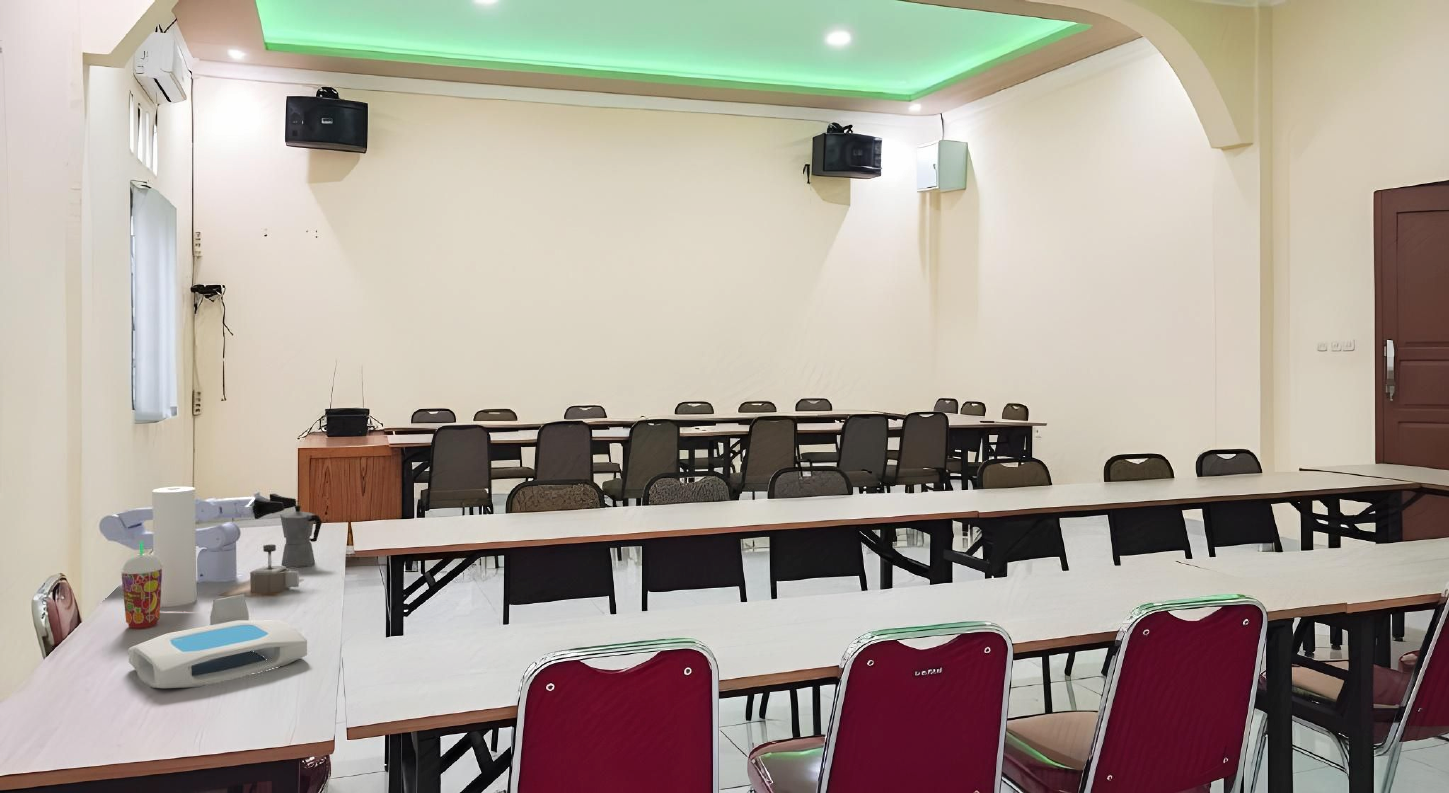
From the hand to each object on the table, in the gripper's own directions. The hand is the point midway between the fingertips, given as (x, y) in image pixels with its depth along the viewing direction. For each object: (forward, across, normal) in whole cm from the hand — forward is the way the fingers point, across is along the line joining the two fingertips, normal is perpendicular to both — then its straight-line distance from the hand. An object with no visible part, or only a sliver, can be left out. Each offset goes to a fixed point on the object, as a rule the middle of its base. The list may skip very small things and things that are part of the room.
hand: (289, 504), depth 268 cm
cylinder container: (-20, -25, +21) cm, 38 cm away
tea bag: (+9, -55, +23) cm, 60 cm away
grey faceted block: (0, -12, +21) cm, 24 cm away
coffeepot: (-7, +20, +21) cm, 30 cm away
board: (-5, -10, +22) cm, 24 cm away
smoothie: (-17, -44, +21) cm, 51 cm away
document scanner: (+15, -71, +24) cm, 76 cm away
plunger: (-1, -12, +17) cm, 21 cm away
